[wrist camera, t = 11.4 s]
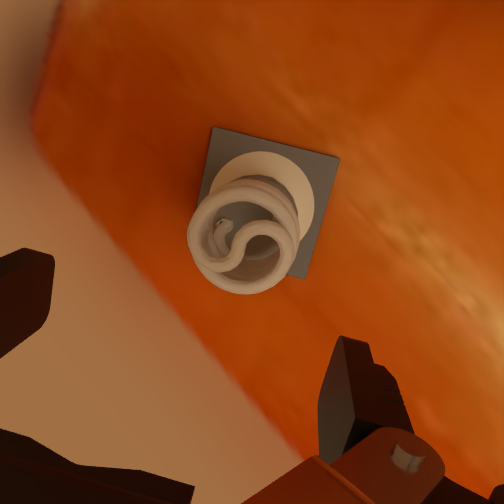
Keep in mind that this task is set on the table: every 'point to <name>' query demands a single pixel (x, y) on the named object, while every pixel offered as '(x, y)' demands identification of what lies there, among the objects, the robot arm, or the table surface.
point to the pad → (284, 171)
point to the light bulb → (245, 234)
